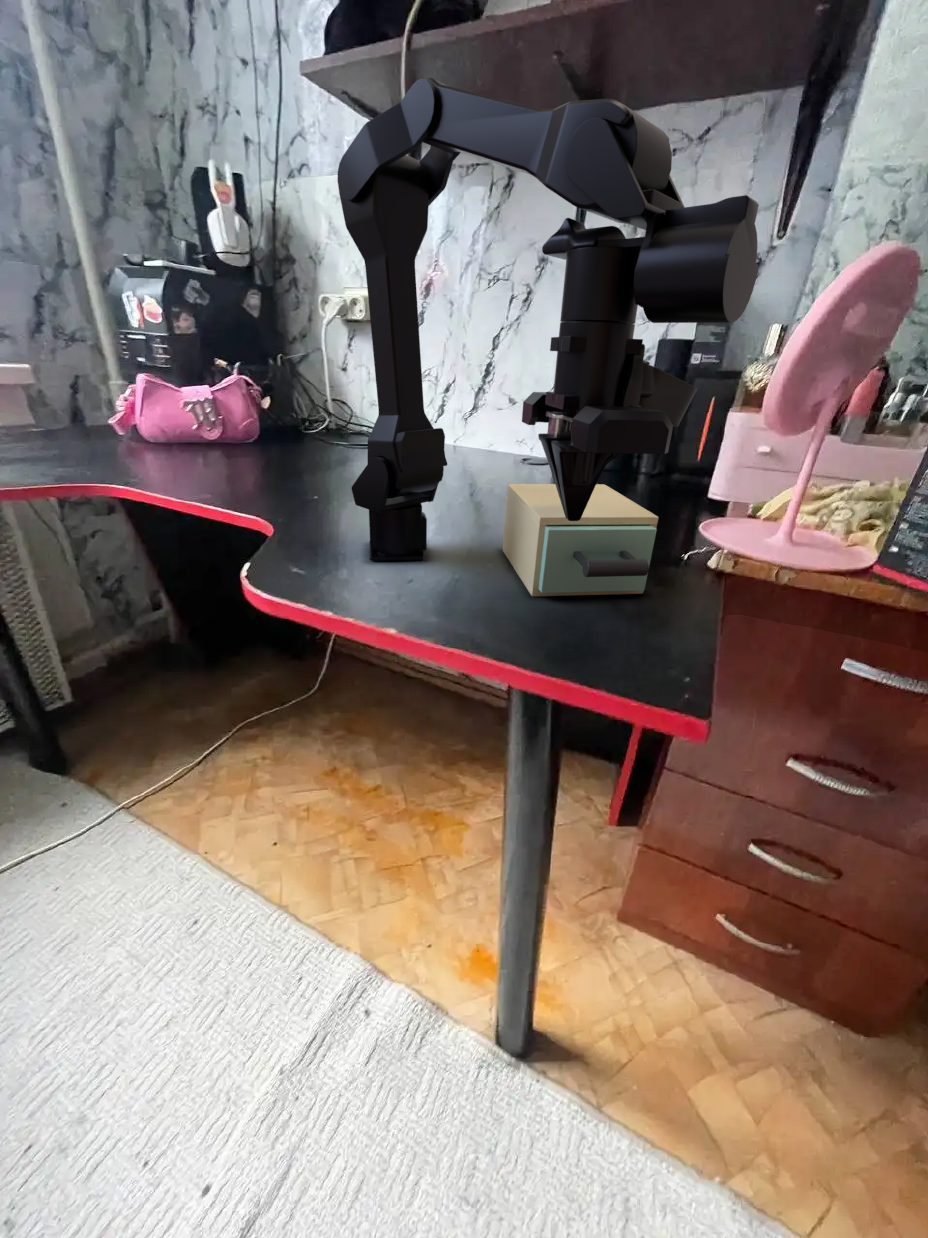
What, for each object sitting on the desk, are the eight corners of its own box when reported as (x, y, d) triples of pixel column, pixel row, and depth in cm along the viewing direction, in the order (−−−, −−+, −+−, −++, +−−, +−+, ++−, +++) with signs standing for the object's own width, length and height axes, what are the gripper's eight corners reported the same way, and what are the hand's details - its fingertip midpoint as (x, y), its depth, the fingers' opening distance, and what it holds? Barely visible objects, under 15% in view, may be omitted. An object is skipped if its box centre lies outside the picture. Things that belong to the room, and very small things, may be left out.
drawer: (665, 610, 54) (681, 544, 51) (555, 613, 52) (563, 545, 49) (597, 548, 70) (606, 495, 67) (511, 549, 68) (515, 495, 65)
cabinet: (643, 593, 60) (658, 517, 56) (531, 596, 58) (540, 517, 54) (594, 549, 73) (604, 484, 69) (502, 550, 71) (507, 483, 67)
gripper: (768, 323, 35) (712, 552, 42) (640, 331, 52) (615, 495, 59) (606, 315, 34) (575, 555, 41) (527, 326, 50) (514, 495, 57)
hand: (572, 519), depth 49 cm, fingers closed
